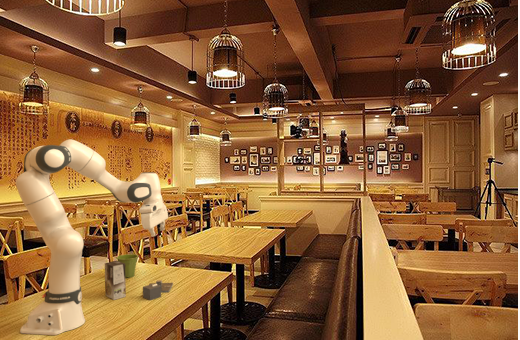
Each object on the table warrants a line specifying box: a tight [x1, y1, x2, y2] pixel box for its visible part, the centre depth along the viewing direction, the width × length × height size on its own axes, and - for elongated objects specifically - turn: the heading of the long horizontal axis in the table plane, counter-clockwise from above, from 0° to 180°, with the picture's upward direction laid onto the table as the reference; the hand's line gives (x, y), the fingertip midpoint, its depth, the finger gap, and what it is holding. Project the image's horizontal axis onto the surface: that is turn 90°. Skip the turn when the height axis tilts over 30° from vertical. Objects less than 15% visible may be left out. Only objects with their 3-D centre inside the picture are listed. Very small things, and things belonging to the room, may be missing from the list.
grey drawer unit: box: [142, 284, 162, 301], centre depth 180 cm, size 6×6×6 cm
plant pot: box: [116, 253, 139, 279], centre depth 213 cm, size 12×12×11 cm
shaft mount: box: [148, 279, 174, 294], centre depth 192 cm, size 12×12×4 cm
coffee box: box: [104, 260, 127, 301], centre depth 182 cm, size 9×6×16 cm
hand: (158, 233), depth 181 cm, fingers open, 8 cm apart
